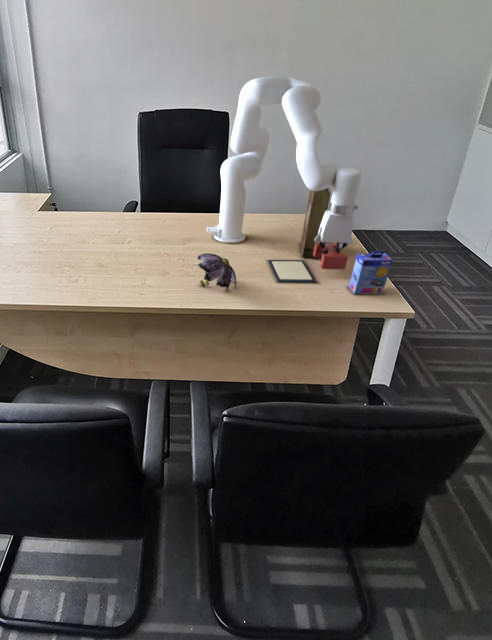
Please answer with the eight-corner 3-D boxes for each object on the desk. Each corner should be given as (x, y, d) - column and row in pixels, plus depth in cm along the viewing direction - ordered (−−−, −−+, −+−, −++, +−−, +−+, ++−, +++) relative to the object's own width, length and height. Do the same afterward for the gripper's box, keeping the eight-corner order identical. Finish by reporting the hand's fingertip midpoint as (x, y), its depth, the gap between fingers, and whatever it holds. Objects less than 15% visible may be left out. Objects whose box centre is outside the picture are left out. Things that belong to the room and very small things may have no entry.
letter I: (321, 268, 166) (324, 256, 164) (312, 254, 176) (315, 242, 174) (345, 269, 166) (348, 257, 164) (334, 254, 176) (337, 243, 174)
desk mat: (277, 282, 165) (278, 281, 165) (268, 260, 180) (268, 259, 180) (316, 282, 166) (316, 281, 165) (303, 261, 180) (303, 259, 180)
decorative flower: (238, 271, 150) (196, 248, 153) (221, 303, 155) (181, 281, 158) (249, 265, 162) (210, 245, 166) (233, 296, 167) (196, 275, 171)
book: (300, 242, 196) (311, 178, 182) (314, 243, 195) (327, 179, 181) (301, 258, 183) (314, 190, 169) (317, 259, 182) (331, 191, 168)
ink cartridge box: (354, 295, 158) (365, 253, 150) (347, 287, 163) (357, 246, 155) (383, 294, 159) (396, 252, 151) (376, 286, 163) (387, 245, 155)
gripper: (361, 205, 164) (348, 256, 174) (313, 204, 164) (302, 255, 174) (369, 212, 158) (355, 265, 168) (319, 211, 157) (308, 264, 168)
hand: (328, 259), depth 171 cm, fingers closed on letter I, 3 cm apart
